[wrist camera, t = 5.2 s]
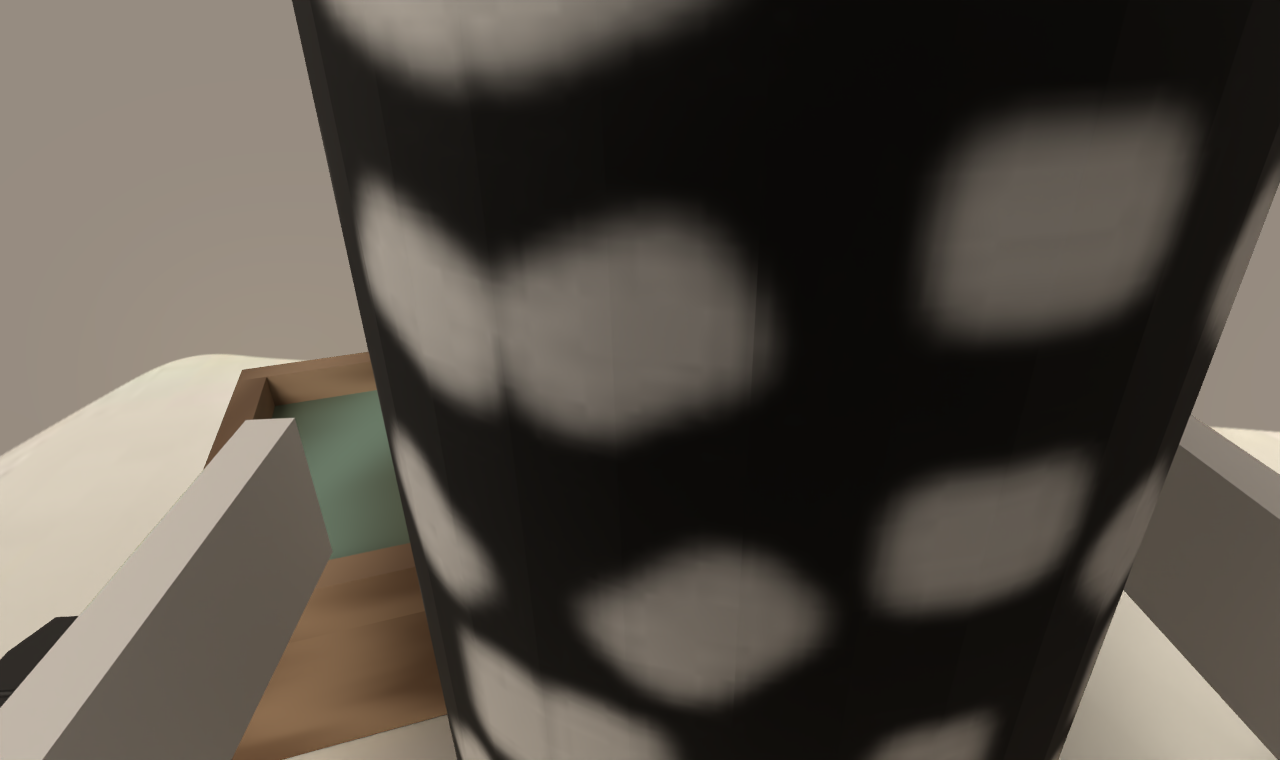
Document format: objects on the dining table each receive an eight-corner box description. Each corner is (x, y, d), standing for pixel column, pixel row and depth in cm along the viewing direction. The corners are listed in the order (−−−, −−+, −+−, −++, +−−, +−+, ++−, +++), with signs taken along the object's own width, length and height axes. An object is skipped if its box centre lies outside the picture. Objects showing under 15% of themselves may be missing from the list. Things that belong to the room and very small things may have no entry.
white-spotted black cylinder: (502, 821, 18) (318, -185, 9) (811, 743, 20) (934, -168, 10) (543, 1367, 11) (-311, -1187, 1) (1026, 1170, 12) (2078, -586, 3)
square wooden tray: (593, 426, 34) (586, 320, 32) (704, 643, 23) (708, 502, 20) (277, 484, 31) (242, 369, 28) (212, 778, 19) (141, 627, 16)
